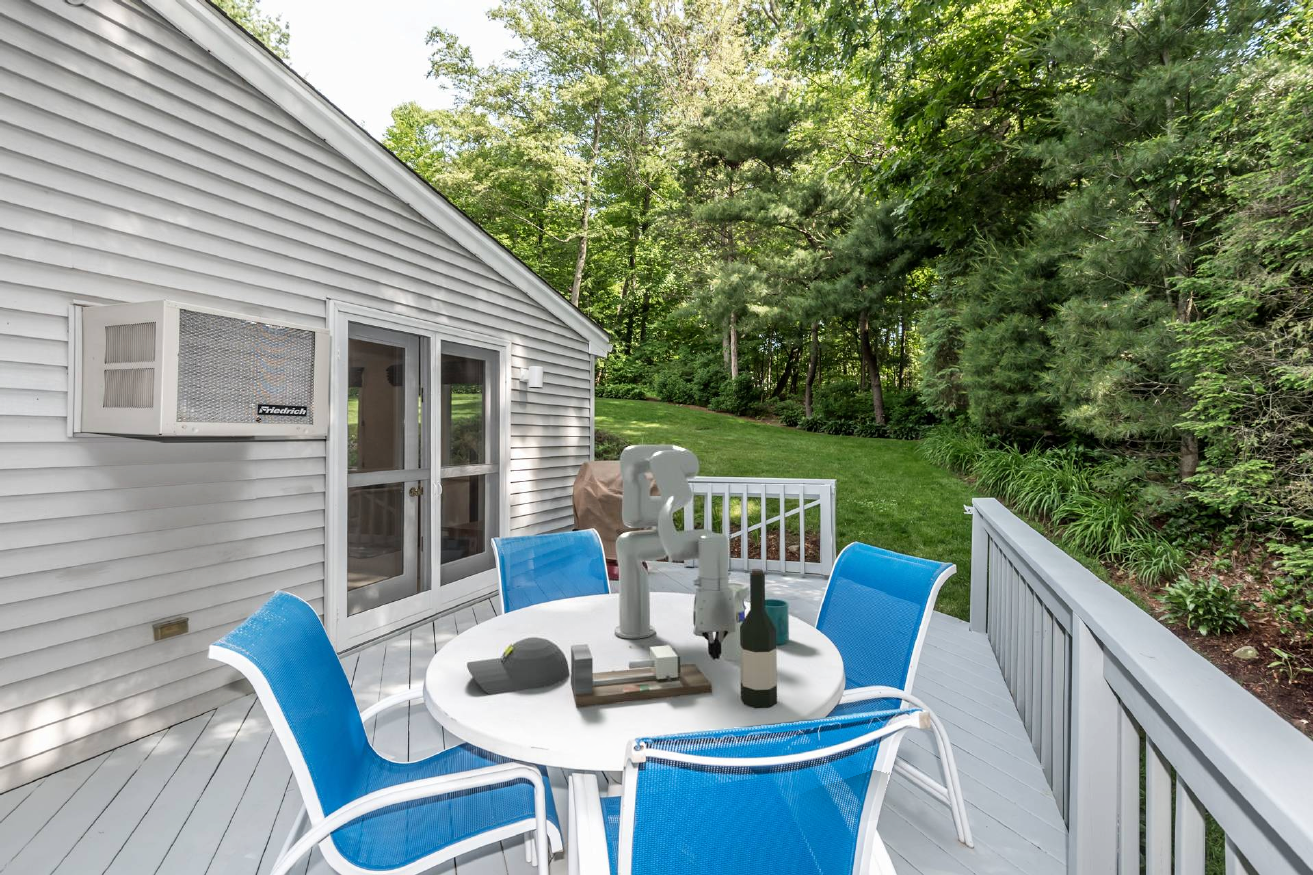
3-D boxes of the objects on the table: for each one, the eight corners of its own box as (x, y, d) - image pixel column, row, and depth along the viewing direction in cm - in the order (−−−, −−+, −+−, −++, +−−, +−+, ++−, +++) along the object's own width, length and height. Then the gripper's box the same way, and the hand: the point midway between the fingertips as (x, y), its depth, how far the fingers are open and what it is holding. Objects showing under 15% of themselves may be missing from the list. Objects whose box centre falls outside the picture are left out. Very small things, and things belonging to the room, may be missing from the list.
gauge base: (570, 683, 150) (570, 642, 150) (694, 671, 157) (694, 632, 157) (576, 707, 136) (575, 662, 136) (711, 692, 143) (711, 650, 143)
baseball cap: (461, 664, 159) (473, 619, 160) (557, 676, 167) (567, 633, 169) (465, 692, 141) (478, 641, 142) (571, 704, 150) (583, 655, 151)
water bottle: (749, 662, 163) (748, 569, 163) (717, 660, 165) (716, 568, 165) (750, 651, 171) (750, 563, 171) (720, 649, 173) (719, 562, 173)
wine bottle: (779, 695, 141) (778, 567, 141) (774, 711, 133) (772, 574, 134) (744, 691, 144) (742, 565, 144) (737, 706, 136) (735, 572, 136)
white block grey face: (626, 669, 150) (626, 648, 150) (673, 664, 153) (673, 644, 153) (634, 685, 140) (634, 663, 140) (684, 680, 142) (684, 659, 143)
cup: (773, 650, 172) (773, 610, 172) (752, 637, 183) (752, 600, 184) (800, 646, 175) (800, 607, 175) (778, 634, 187) (778, 597, 187)
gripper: (688, 588, 146) (690, 665, 145) (747, 584, 149) (748, 659, 149) (680, 582, 153) (681, 655, 153) (736, 578, 156) (737, 649, 156)
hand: (714, 657), depth 151 cm, fingers closed
